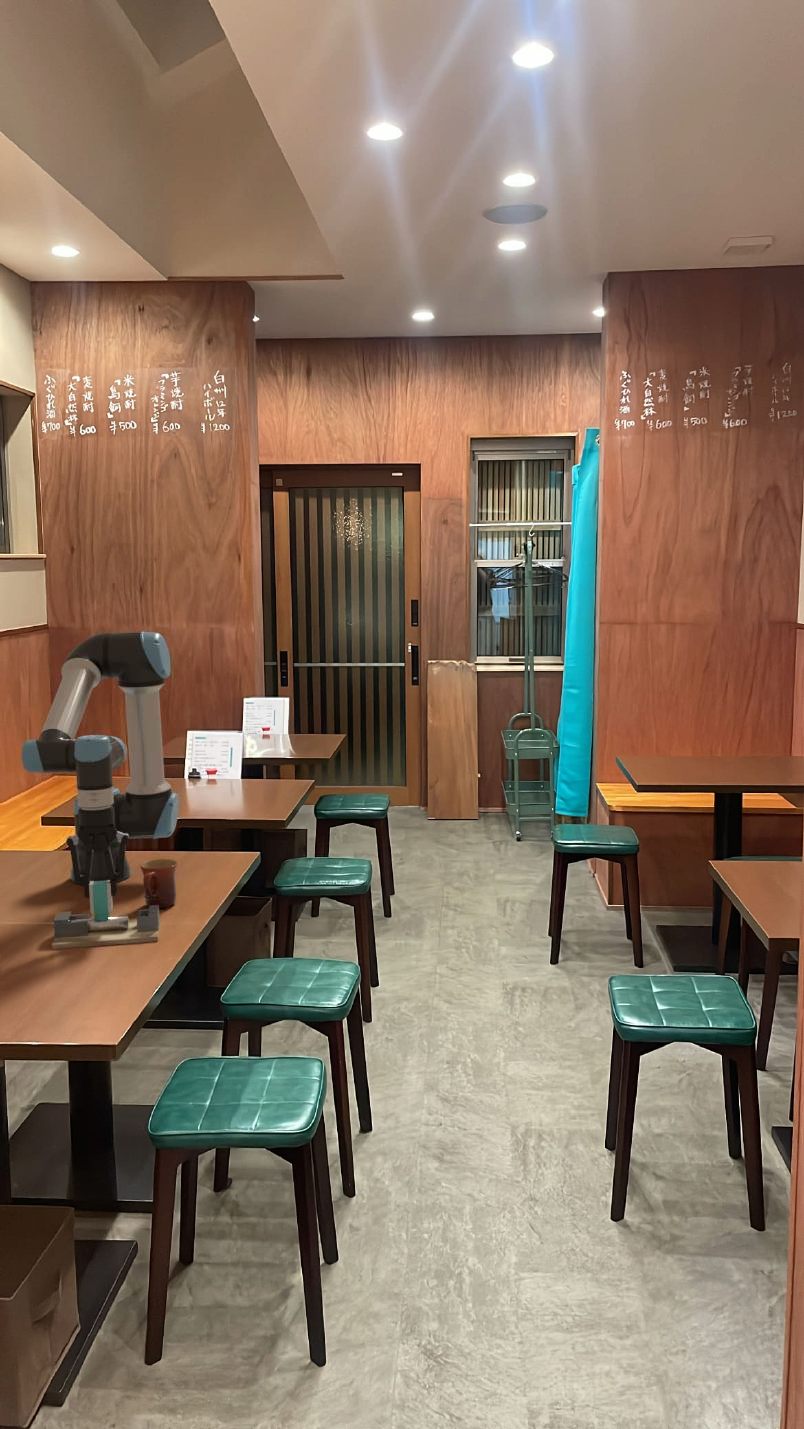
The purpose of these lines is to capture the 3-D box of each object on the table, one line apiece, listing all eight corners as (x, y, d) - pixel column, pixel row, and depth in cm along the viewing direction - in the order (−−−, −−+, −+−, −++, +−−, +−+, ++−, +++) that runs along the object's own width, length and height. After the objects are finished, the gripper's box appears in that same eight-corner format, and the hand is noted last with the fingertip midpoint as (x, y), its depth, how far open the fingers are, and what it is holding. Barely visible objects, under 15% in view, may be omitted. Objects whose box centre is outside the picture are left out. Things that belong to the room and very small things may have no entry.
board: (60, 928, 242) (60, 923, 242) (160, 921, 246) (160, 916, 246) (52, 949, 228) (52, 944, 228) (157, 941, 232) (157, 936, 232)
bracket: (58, 929, 238) (57, 912, 237) (90, 927, 239) (89, 910, 238) (54, 938, 232) (53, 920, 232) (88, 935, 233) (87, 918, 233)
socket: (139, 923, 241) (138, 906, 240) (159, 922, 242) (158, 904, 241) (137, 932, 235) (136, 914, 234) (158, 930, 236) (157, 913, 235)
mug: (151, 898, 263) (149, 858, 262) (185, 900, 261) (183, 859, 260) (129, 914, 251) (127, 871, 250) (164, 915, 250) (162, 873, 248)
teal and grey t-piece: (59, 931, 236) (56, 883, 235) (128, 926, 239) (126, 879, 238) (57, 935, 233) (54, 887, 232) (128, 930, 236) (125, 882, 235)
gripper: (55, 812, 228) (61, 918, 231) (132, 808, 231) (138, 913, 234) (59, 805, 235) (66, 908, 238) (135, 801, 238) (140, 903, 241)
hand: (101, 910), depth 236 cm, fingers closed on teal and grey t-piece, 3 cm apart
